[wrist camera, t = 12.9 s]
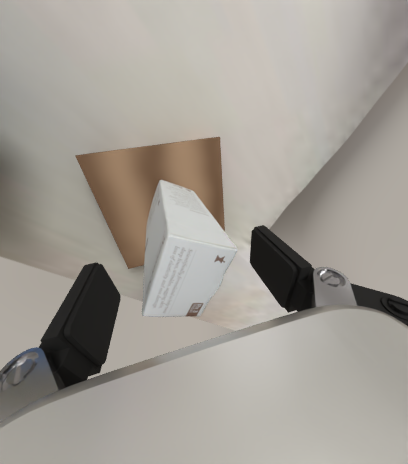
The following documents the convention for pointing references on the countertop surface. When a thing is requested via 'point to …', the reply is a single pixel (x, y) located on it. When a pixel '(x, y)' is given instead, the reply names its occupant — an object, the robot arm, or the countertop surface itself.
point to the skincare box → (182, 254)
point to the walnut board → (151, 185)
